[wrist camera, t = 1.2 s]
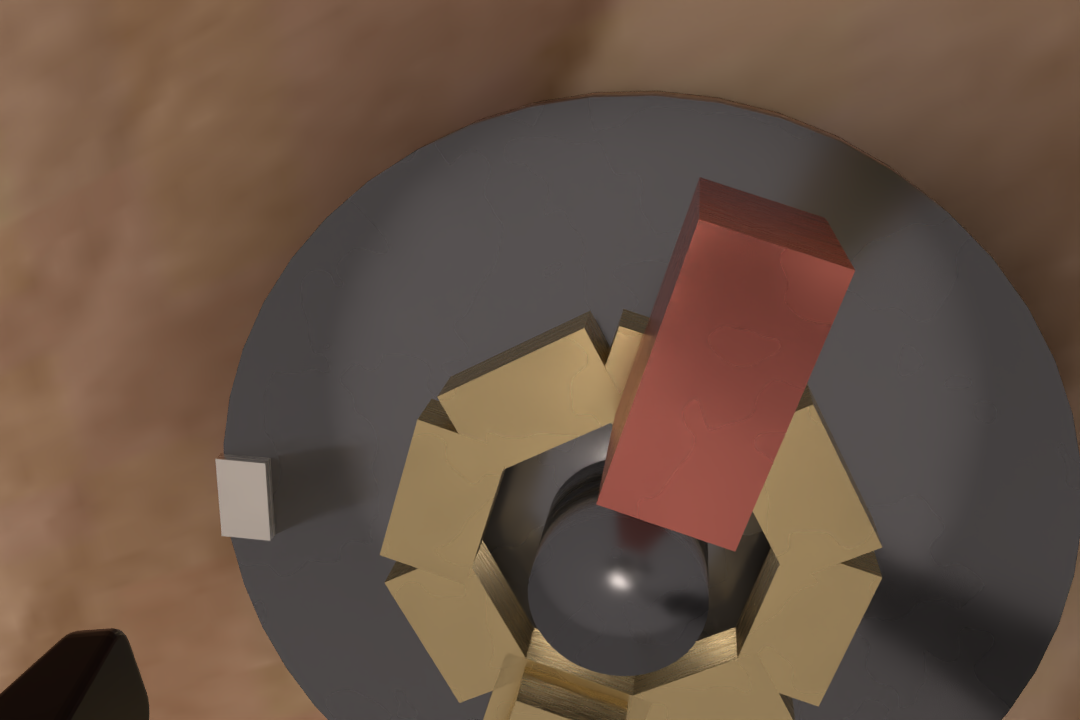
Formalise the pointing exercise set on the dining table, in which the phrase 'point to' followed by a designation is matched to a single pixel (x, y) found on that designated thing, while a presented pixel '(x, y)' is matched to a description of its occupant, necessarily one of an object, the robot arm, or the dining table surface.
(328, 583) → the cap plate
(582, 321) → the colourful block cluster
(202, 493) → the dining table surface
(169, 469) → the dining table surface
